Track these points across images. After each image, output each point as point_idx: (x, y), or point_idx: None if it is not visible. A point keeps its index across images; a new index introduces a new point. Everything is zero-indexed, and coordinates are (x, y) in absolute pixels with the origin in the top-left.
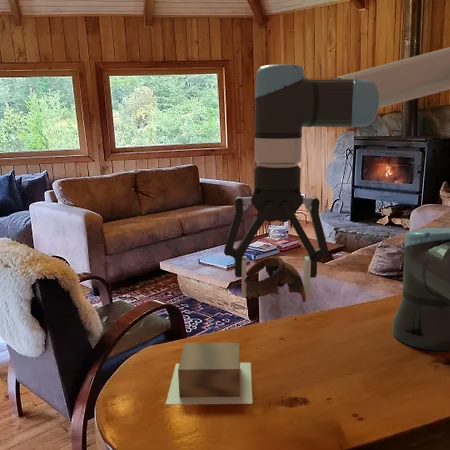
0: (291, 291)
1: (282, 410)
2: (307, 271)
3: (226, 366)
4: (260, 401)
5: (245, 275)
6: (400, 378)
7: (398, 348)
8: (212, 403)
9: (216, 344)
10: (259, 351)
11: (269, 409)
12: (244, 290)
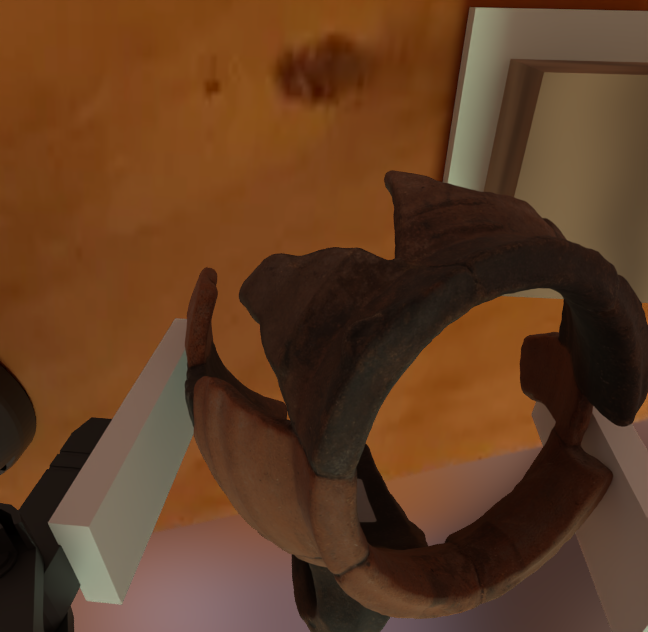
0: (273, 403)
1: (367, 14)
2: (121, 443)
3: (592, 98)
4: (430, 78)
5: (620, 456)
6: (3, 194)
7: (17, 347)
8: (621, 12)
9: None
10: None
11: (409, 23)
12: None
